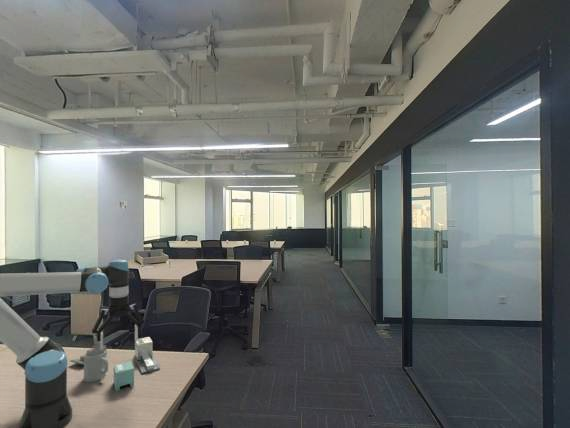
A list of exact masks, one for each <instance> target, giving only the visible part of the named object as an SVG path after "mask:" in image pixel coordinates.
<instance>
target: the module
mask: <svg viewBox="0 0 570 428" xmlns="http://www.w3.org/2000/svg"><path fill="white" fill-rule="evenodd" d="M126 385H129V387H130V388H132V387H135V367H134V364H133V362H132V361H127V362H123V363H119V364H115V365H113V386H114V391H115V392H118V391H120V387H123V386H126Z"/></svg>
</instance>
